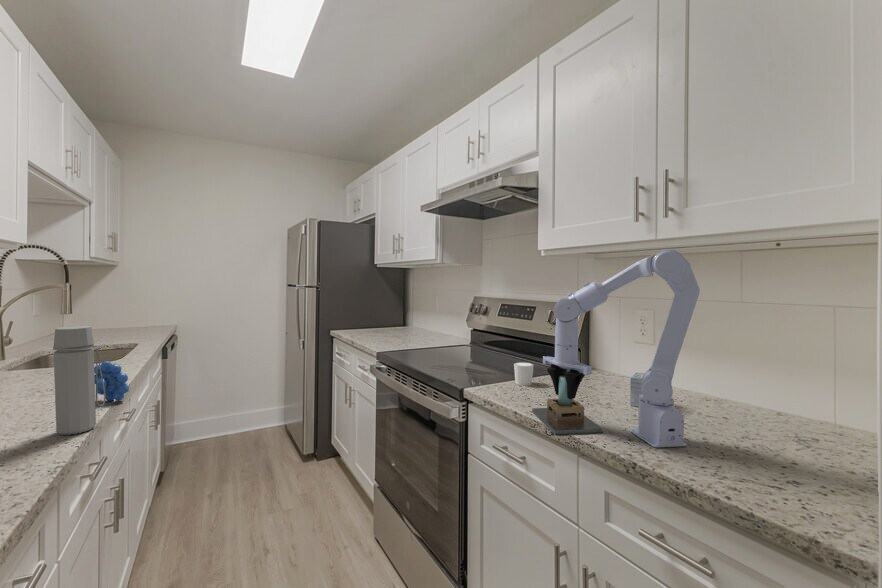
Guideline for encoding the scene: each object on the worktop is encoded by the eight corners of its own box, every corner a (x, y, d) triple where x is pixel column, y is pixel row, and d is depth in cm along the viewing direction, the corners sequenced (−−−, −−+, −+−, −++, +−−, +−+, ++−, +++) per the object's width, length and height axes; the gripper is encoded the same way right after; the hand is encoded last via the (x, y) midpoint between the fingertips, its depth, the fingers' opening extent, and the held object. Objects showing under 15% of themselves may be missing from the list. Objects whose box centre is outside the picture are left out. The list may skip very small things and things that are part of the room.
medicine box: (646, 408, 114) (647, 379, 113) (629, 405, 116) (630, 376, 116) (651, 402, 120) (651, 374, 120) (635, 399, 123) (635, 371, 122)
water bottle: (59, 439, 90) (55, 330, 89) (52, 431, 95) (48, 327, 93) (110, 427, 97) (107, 326, 96) (102, 420, 102) (99, 324, 101)
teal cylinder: (575, 408, 103) (575, 377, 102) (566, 410, 101) (566, 379, 100) (564, 404, 105) (565, 374, 105) (555, 406, 104) (556, 376, 103)
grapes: (78, 404, 114) (77, 363, 114) (101, 397, 121) (100, 358, 120) (114, 406, 113) (113, 365, 112) (135, 399, 119) (134, 360, 119)
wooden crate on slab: (602, 432, 96) (602, 411, 96) (554, 434, 95) (555, 413, 94) (573, 410, 112) (573, 392, 112) (532, 411, 110) (532, 393, 110)
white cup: (522, 380, 145) (522, 361, 145) (537, 384, 140) (537, 364, 139) (509, 383, 140) (510, 363, 140) (525, 387, 135) (525, 367, 135)
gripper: (600, 347, 98) (599, 401, 99) (555, 339, 111) (554, 387, 111) (581, 350, 95) (580, 406, 95) (537, 341, 107) (536, 390, 108)
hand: (565, 396), depth 103 cm, fingers closed on teal cylinder, 3 cm apart
